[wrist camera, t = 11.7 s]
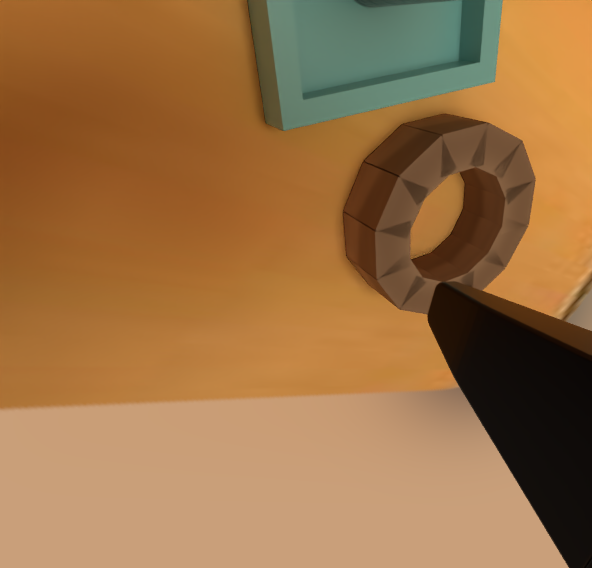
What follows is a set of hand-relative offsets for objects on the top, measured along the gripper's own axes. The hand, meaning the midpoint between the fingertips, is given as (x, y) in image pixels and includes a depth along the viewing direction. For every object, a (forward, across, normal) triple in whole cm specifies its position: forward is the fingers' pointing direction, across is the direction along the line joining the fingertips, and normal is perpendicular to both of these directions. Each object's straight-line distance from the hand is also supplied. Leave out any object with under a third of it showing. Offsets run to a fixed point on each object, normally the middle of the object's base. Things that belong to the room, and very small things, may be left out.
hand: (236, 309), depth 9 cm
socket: (+14, -13, +3) cm, 20 cm away
